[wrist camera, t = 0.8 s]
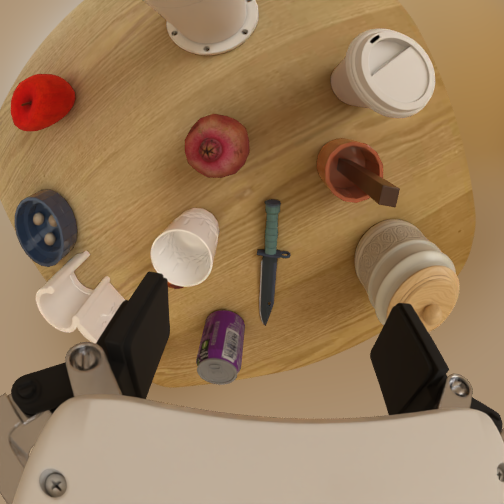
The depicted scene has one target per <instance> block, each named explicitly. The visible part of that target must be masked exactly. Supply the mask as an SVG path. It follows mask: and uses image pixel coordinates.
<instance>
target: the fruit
mask: <svg viewBox="0 0 504 504" xmlns="http://www.w3.org/2000/svg"><path fill="white" fill-rule="evenodd" d="M185 154H186V157H187V161H188V163H189V164H190V165H191V166H192V167H193V168H194V169H195V170H196V171H197V172H199V173H201V174H203V175H204V176H206V177H213V178H222V177H225V176H229V175H232V174H235V173H236V172H237V171H238V170H239V169H240V168H241V167H242V166H243V165H244V164H245V161H246V159H247V157H248V155H249V138H248V134H247V131H246V128H245V127H244V126H243V125H242V124H241V123H239V122H238V121H237V120H235V119H233V118H230V117H228V116H223V115H218V114H212V115H209V116H206V117H202V118H200V119H199V120H198V121H197V122H196V123H195V124H194V125H193V127H192V128H191V130H190V131H189V133H188V135H187V137H186V139H185Z"/></svg>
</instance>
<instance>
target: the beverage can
mask: <svg viewBox="0 0 504 504" xmlns="http://www.w3.org/2000/svg"><path fill="white" fill-rule="evenodd" d="M244 329H245V324H244V321H243V320H242V318H241V317H240V316H239V315H237V314H236V313H233V312H231V311H226V310H220V311H215V312H213V313H211V314H210V315H209V316H208V317H207V319H206V322H205V326H204V330H203V334H202V338H201V342H200V346H199V350H198V354H197V359H196V363H197V366H198V367H197V372H198V374H199V376H200V377H201V378H202V379H204V380H205V381H207V382H210V383H213V384H228V383H231V382H233V381H234V380H235V379H236V378H237V373H238V372H239V371H240V369H241V362H242V351H243V340H244Z"/></svg>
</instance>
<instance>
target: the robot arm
mask: <svg viewBox="0 0 504 504" xmlns="http://www.w3.org/2000/svg"><path fill="white" fill-rule="evenodd" d="M143 1H145V2H146V3H147V4H148V5H149V6H151V7H152V8H153V9H154V10H155V11H157V12H158V13H159V14H160V15H161V16H162V17H164V18H165V19H166V20H167V22H166V26H167V31H168V33H169V35H170V38H171V39H172V40H173V41H174V43H176V44H177V45H178V46H179V47H181V48H182V49H184V50H185V51H188V52H190V53H193V54H198V55H216V54H221V53H225V52H228V51H230V50H232V49H235V48H236V47H238V46H240V45H241V44H243V43H244V42H245V41H246V40H247V39H248V38H249V37H250V36H251V34H252V33H253V32H254V30H255V28H256V26H257V22H258V15H259V12H258V6H257V3H256V1H255V0H143ZM247 1H251V2H247ZM244 32H246V33H247V34H246V35H244V34H243V33H244ZM176 33H177V35H175V34H176ZM207 49H209V51H206V50H207ZM169 334H170V323H169V305H168V281H167V278H163V274H161V273H155V272H148V273H147V274H146V276H145V277H144V278H143V280H142V281H141V283H140V284H139V286H138V287H137V289H136V290H135V292H134V293H133V295H132V296H131V298H130V300H129V301H128V300H125V301H123V302H122V304H121V305H120V307H119V308H118V310H117V311H116V313H115V314H114V316H113V317H112V319H111V320H110V322H109V323H108V325H107V326H106V328H105V330H104V331H103V333H102V334H101V336H100V338H99V339H98V341H97V342H96V344H95V343H93V342H83V343H79V344H76V345H75V346H73V347H72V348H70V350H69V351H68V352H67V354H66V357H65V358H66V362H65V363H62V364H59V365H56V366H53V367H49V368H46V369H43V370H40V371H37V372H33V373H30V374H27V375H24V376H22V377H20V378H19V379H17V380H16V381H15V383H14V384H13V387H12V390H11V394H9V395H8V396H7V394H6V393H4V394H3V395H1V396H0V493H1V495H2V496H3V498H4V499H5V501H6V503H7V504H504V428H503V429H502V420H501V417H500V415H499V414H498V413H497V412H495V411H494V410H492V409H490V408H489V407H487V406H486V405H484V404H482V403H481V402H479V401H477V400H476V399H474V398H473V397H472V394H473V391H472V390H473V389H472V386H471V384H470V382H469V381H468V380H467V379H466V378H465V377H463V376H462V375H459V374H451V375H449V376H448V377H447V375H446V373H447V372H448V370H449V368H448V366H447V364H446V363H445V361H444V359H443V357H442V355H441V354H440V352H439V350H438V348H437V347H436V345H435V343H434V341H433V340H432V338H431V336H430V334H429V333H428V331H427V329H426V328H425V326H424V324H423V323H422V321H421V320H420V318H419V316H418V315H417V313H416V312H415V310H414V308H413V307H412V305H411V304H408V303H397V304H396V306H394V307H393V308H392V309H391V312H390V314H389V316H388V318H387V320H386V322H385V324H384V326H383V328H382V331H381V333H380V335H379V337H378V339H377V341H376V342H375V345H374V346H373V348H372V350H371V353H370V358H371V361H372V364H373V367H374V370H375V373H376V376H377V379H378V382H379V384H380V388H381V391H382V394H383V397H384V400H385V404H386V407H387V410H388V413H389V415H388V416H376V417H362V418H342V419H340V418H339V419H298V418H276V417H261V416H248V415H240V414H231V413H223V412H216V411H209V410H202V409H196V408H190V407H184V406H178V405H173V404H168V403H163V402H158V401H153V400H147V399H146V397H147V394H148V391H149V388H150V386H151V383H152V380H153V377H154V375H155V372H156V369H157V367H158V364H159V361H160V359H161V356H162V353H163V351H164V348H165V346H166V343H167V341H168V338H169ZM33 446H34V447H33ZM32 447H33V449H32V451H31V454H30V456H29V453H30V450H31V448H32Z"/></svg>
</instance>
